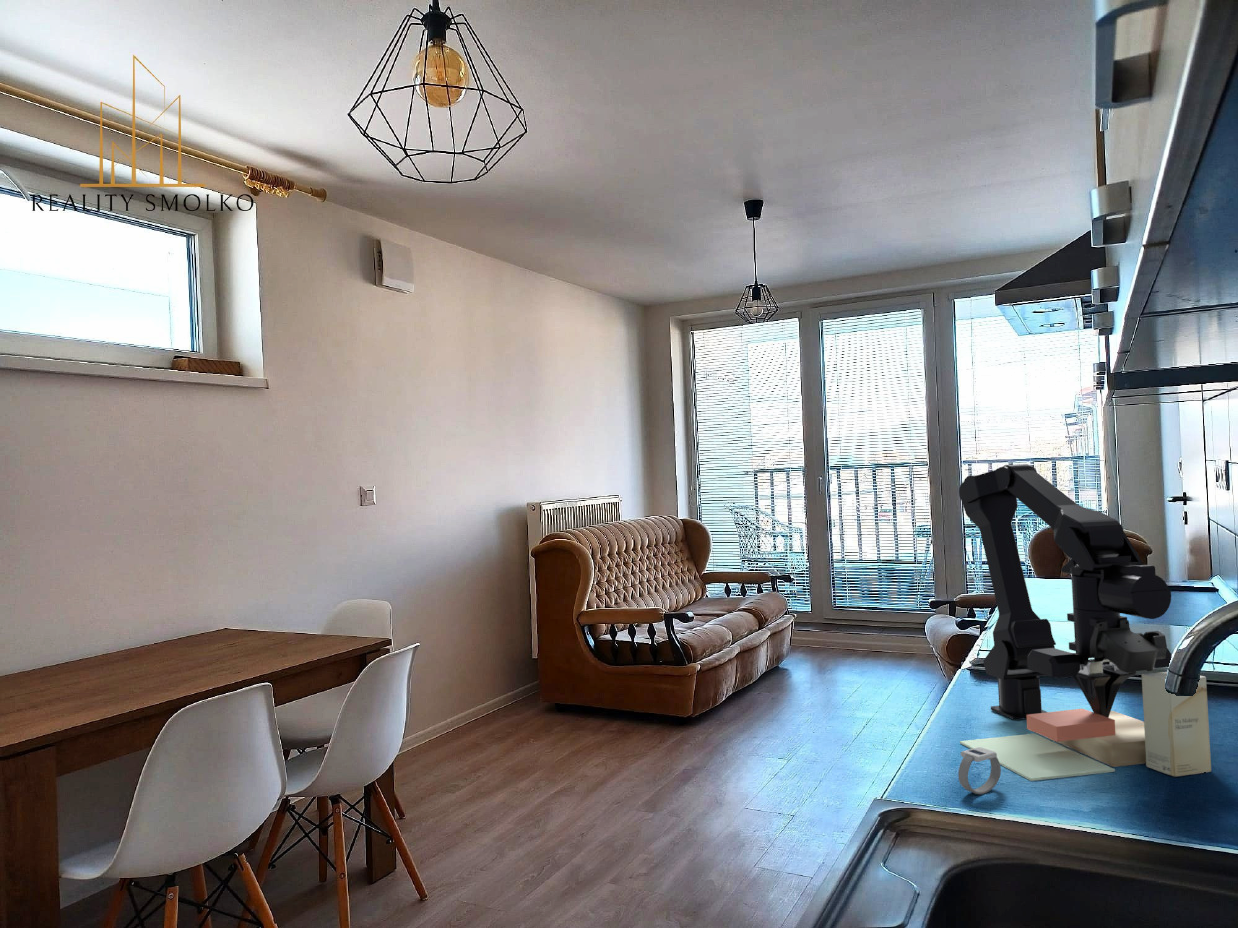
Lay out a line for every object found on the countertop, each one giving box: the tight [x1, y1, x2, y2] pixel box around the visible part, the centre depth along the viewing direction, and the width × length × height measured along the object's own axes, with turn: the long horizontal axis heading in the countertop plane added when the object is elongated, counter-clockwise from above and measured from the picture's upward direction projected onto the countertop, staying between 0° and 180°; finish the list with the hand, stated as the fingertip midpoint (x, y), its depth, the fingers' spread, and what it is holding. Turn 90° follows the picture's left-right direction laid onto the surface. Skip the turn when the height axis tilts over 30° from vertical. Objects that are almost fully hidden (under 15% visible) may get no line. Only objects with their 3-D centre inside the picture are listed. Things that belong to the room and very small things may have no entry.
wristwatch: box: [957, 747, 1002, 795], centre depth 105 cm, size 6×3×5 cm, turn 117°
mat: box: [959, 733, 1116, 782], centre depth 116 cm, size 16×12×1 cm
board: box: [1047, 710, 1146, 768], centre depth 119 cm, size 13×11×3 cm
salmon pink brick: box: [1026, 708, 1116, 743], centre depth 117 cm, size 9×6×2 cm, turn 102°
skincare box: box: [1141, 671, 1212, 777], centre depth 110 cm, size 6×4×12 cm
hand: (1102, 719), depth 118 cm, fingers closed
